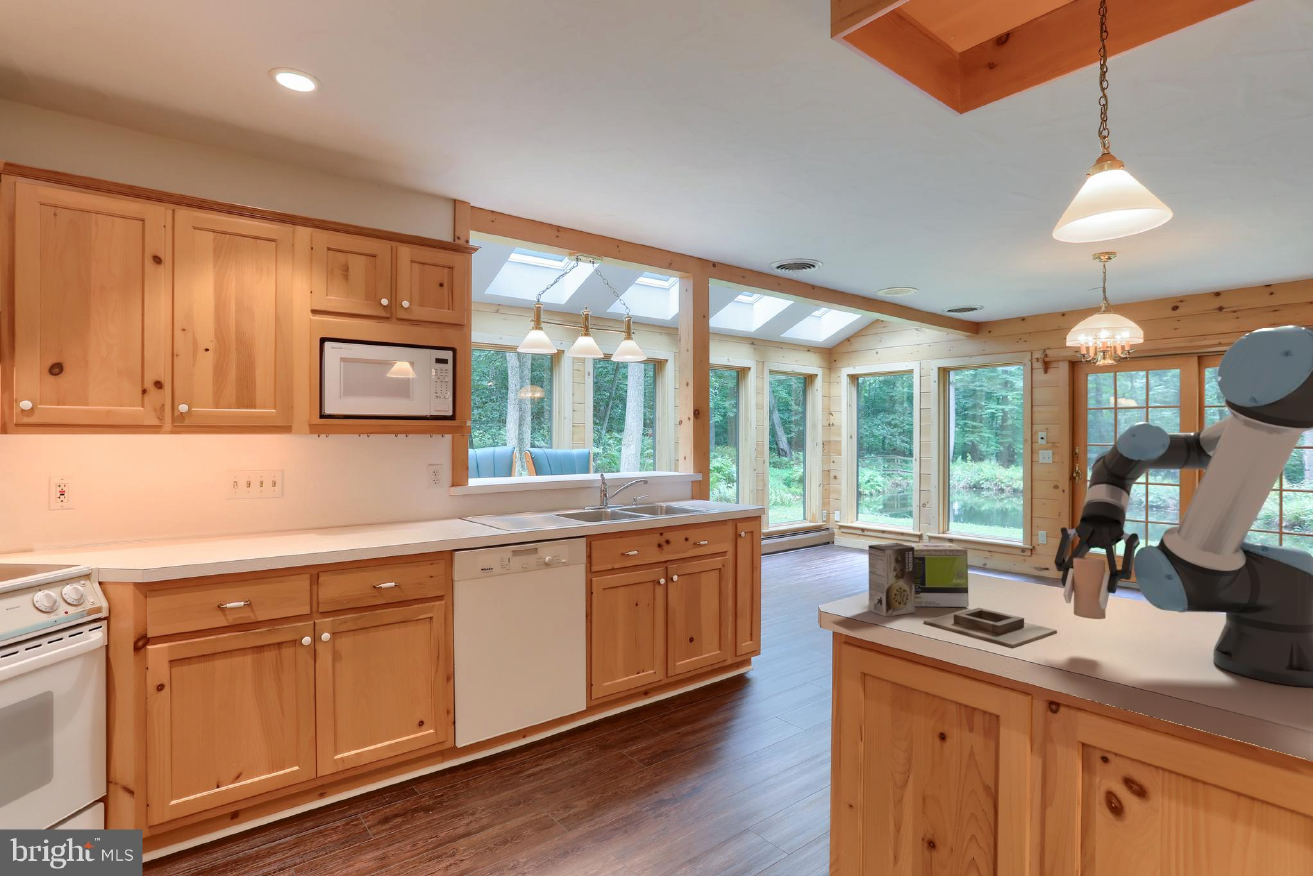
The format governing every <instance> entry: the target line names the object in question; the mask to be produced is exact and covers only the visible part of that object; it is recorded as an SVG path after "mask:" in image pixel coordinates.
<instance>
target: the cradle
mask: <svg viewBox="0 0 1313 876" xmlns="http://www.w3.org/2000/svg"><path fill="white" fill-rule="evenodd" d="M922 623H923V624H926V625H930V626H933V627H936V628H941V629H944V630H947V631H950V632H955V633H958V634H962V635H966V636H969V637H971V638H972V637H973V638H976V639H979V640H983V641H987V642H991V643H995V644H999V645H1002V646H1006V647H1008V648H1016V647H1019V646H1022V645H1025V644H1027V643H1028V644H1029V643H1031V642H1033V641H1037V640H1039V639H1042V638H1045V636H1046V637H1049V636H1051V635H1055V634H1057V633H1058V631H1057V629H1054V628H1050V627H1046V626H1042V625H1038V624H1037V625H1036V624H1033V623H1029V622H1025V617H1020V616H1016V615H1012V614H1008V613H1004V612H1000V611H994V610H992V609H991V610H990V609H987V608H981V607H976V608H972V609H971V608H967V609H963V610H959V611H955V612H951V613H946V614H943V615H939V616H936V617H932V618H928V619H925V620H923V622H922Z"/></svg>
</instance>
